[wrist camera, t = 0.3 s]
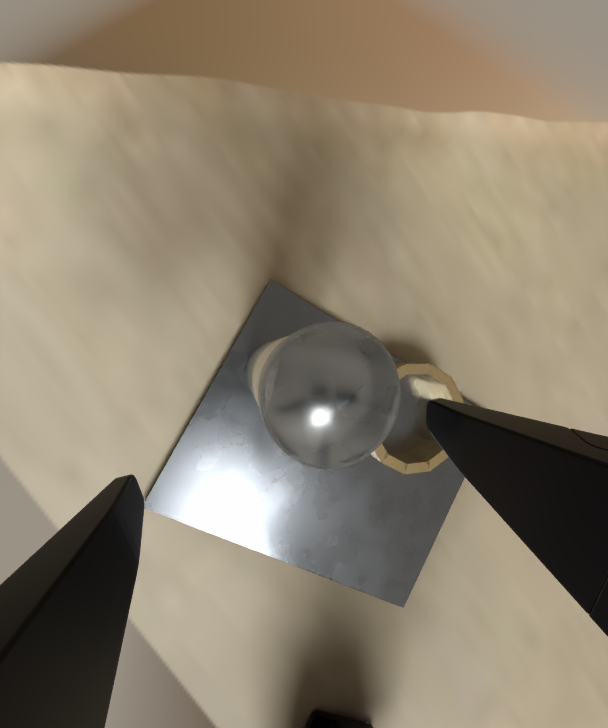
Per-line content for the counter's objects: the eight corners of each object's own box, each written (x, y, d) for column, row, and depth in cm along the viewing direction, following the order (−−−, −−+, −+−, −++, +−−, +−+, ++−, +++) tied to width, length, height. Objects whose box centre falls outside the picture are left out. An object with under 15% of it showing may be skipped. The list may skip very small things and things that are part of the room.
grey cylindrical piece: (291, 417, 23) (360, 491, 11) (231, 387, 22) (231, 430, 10) (322, 359, 24) (422, 366, 11) (265, 327, 23) (306, 293, 10)
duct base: (398, 600, 27) (420, 633, 24) (145, 501, 22) (130, 527, 19) (487, 412, 29) (519, 420, 26) (271, 278, 23) (277, 266, 20)
